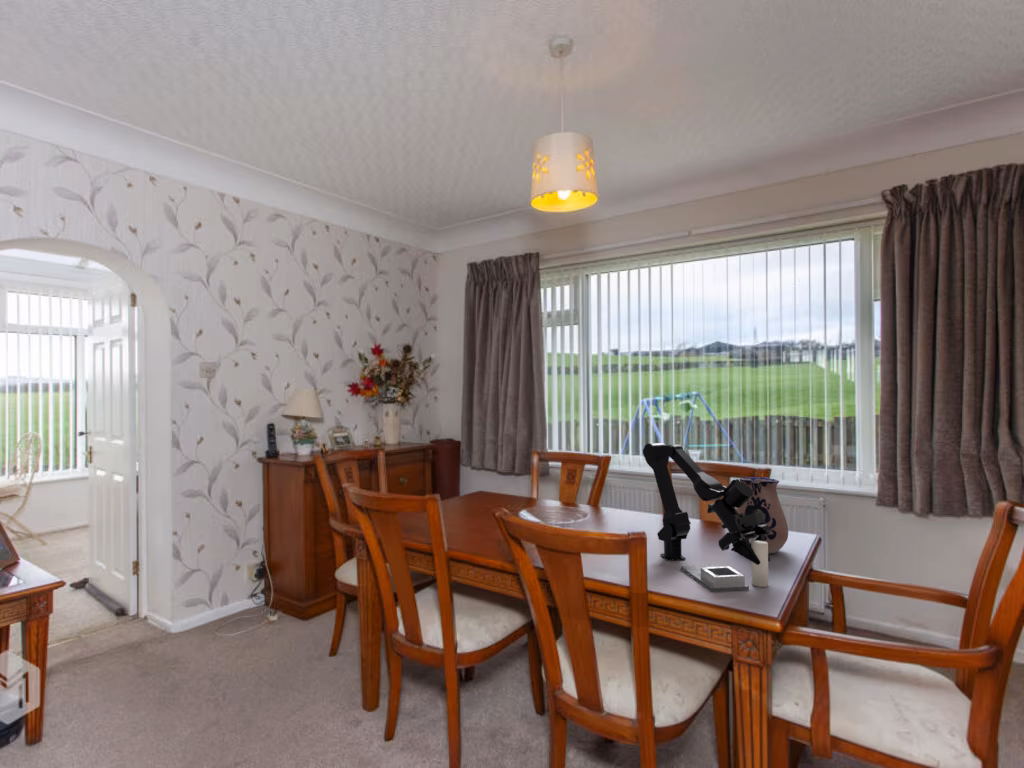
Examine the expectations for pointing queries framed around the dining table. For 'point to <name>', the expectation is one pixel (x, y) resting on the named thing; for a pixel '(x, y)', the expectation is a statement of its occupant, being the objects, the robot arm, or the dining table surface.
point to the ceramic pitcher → (767, 510)
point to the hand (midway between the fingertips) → (764, 562)
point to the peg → (762, 569)
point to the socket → (717, 577)
